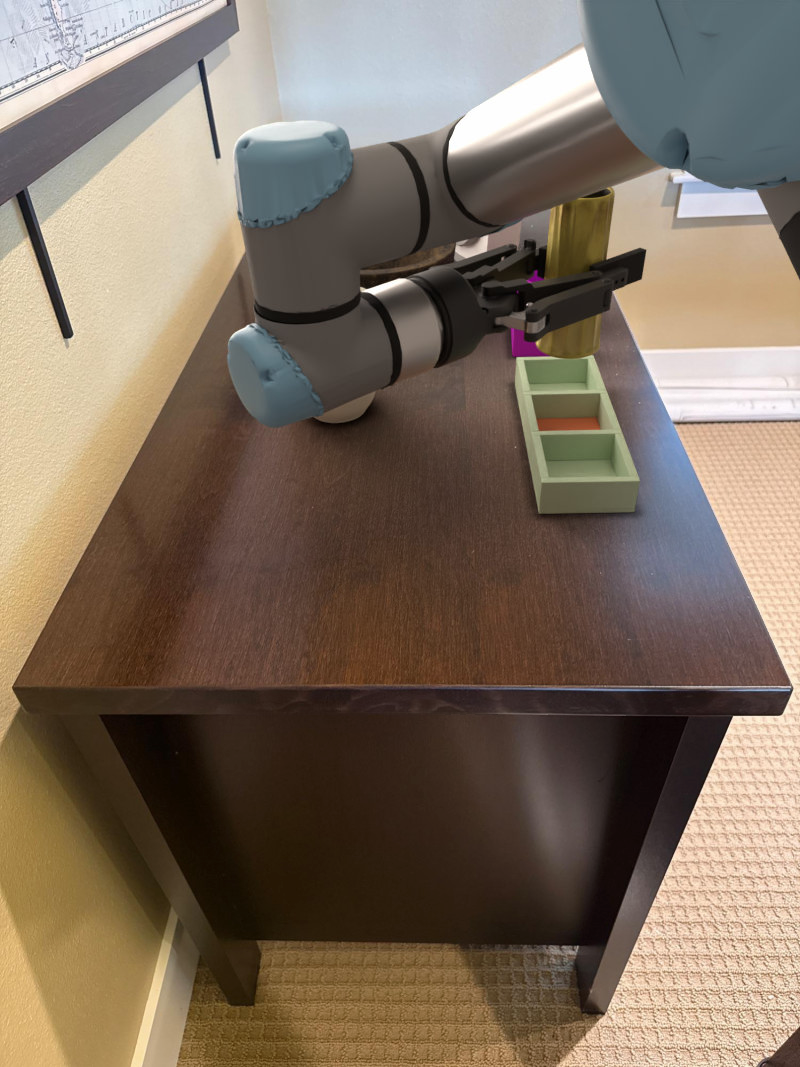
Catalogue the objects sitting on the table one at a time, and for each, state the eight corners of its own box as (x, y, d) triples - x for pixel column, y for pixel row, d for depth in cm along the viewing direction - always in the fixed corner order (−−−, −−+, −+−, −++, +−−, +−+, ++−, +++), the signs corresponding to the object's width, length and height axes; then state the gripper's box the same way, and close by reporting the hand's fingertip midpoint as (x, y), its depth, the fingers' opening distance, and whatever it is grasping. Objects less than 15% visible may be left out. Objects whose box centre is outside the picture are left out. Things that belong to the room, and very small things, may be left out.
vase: (578, 366, 71) (597, 204, 62) (522, 348, 74) (533, 193, 65) (611, 342, 75) (633, 186, 66) (556, 326, 78) (570, 175, 69)
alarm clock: (427, 249, 132) (425, 117, 119) (471, 240, 135) (473, 110, 122) (479, 284, 119) (483, 140, 107) (526, 273, 122) (535, 132, 109)
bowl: (459, 345, 103) (459, 271, 97) (297, 350, 104) (287, 277, 98) (452, 283, 120) (453, 216, 114) (313, 287, 121) (306, 222, 115)
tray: (634, 512, 74) (640, 480, 72) (538, 513, 74) (541, 482, 72) (590, 383, 94) (593, 355, 92) (514, 384, 94) (516, 357, 92)
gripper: (356, 331, 70) (541, 267, 80) (493, 410, 58) (689, 324, 69) (350, 248, 65) (547, 192, 76) (497, 315, 54) (706, 238, 64)
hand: (614, 254), depth 72 cm, fingers closed on vase, 5 cm apart
